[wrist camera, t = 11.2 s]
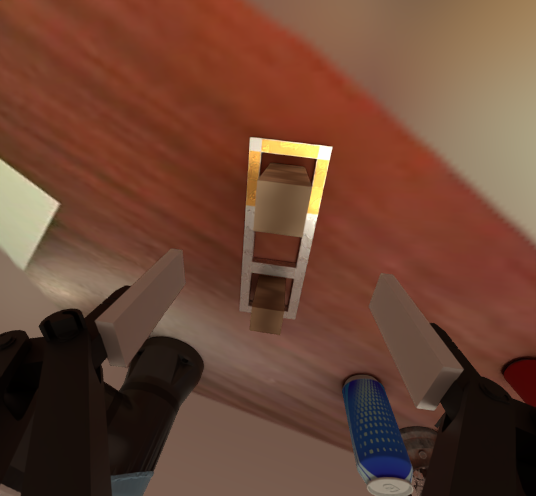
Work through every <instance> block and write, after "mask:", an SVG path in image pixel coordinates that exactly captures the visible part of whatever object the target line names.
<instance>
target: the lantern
mask: <svg viewBox="0 0 536 496" xmlns="http://www.w3.org/2000/svg"><path fill="white" fill-rule="evenodd" d="M399 431H400V434H401V436H402V439H403V442H404V445H405V448H406V450H407V453H408V456H409V459H410V462H411V464H412V468H413V472H414V471H415V470H416V471H418V473H420V475H421V473H422V474H423V477H424V478H422V476H421V478H422V479H420V475H419V474H418V477H419V478H416V477H414V476H413V475H412V476H413V477H414V479H415V481H416V485H414V487H415V489H416V490H417V491H416V492H417V496H418V495H419V496H421V493H422V489H423V486H424V482H425V478H426V475H427V471H428V467H429V463H430V460H431V456H432V452H433V448H434V445H435V441H436V437H437V432H436V431H434V430H432V429H429V428H426V427H407V428H403V429H400V430H399ZM416 479H418V480H419V481H420V482H421V481H422V482H423V483H419V484H418V483H417V482H418V481H417V480H416ZM423 479H424V480H423ZM421 484H422V485H421ZM408 496H412V495H411V494H410V495H408Z"/></svg>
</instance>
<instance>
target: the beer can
mask: <svg viewBox="0 0 536 496" xmlns="http://www.w3.org/2000/svg"><path fill="white" fill-rule="evenodd" d="M342 393H343V398H344V403H345V409H346V414H347V419H348V424H349V429H350V435H351V440H352V445H353V450H354V456H355V460H356V466H357V470H358V472H359V474H360V475H361V477H362V478H363V480H364V481H365V483H366V484H367V490H368V491H369V492H370V493H371V494H373V495H376V496H408V495H410V494H411V493H412V492H413V486H412V484H411V483H412V475H413V468H412V464H411V462H410V459H409V456H408V453H407V450H406V448H405V445H404V442H403V439H402V436H401V434H400V431H399V428H398V425H397V423H396V420H395V417H394V414H393V411H392V409H391V406H390V403H389V400H388V397H387V395H386V392H385V389H384V387H383V385H382V384H381V383H380V382H378V381H377V380H376V379H375V378H374V377H372V376H369V375H355V376H352V377H350V378H349V379H347V381H346V382H345V385H344V387H343V389H342Z"/></svg>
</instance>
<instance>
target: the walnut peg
mask: <svg viewBox="0 0 536 496" xmlns="http://www.w3.org/2000/svg"><path fill="white" fill-rule="evenodd" d="M285 283H286V279H285V278H278V277H272V276H265V275H259V278H258V282H257V287H256V291H255V295H254V299H253V304H252V310H251V320H250V330H251V331H257V332H264V333H270V334H277V335H280V332H281V326H282V321H283V315H284V305H285Z"/></svg>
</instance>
